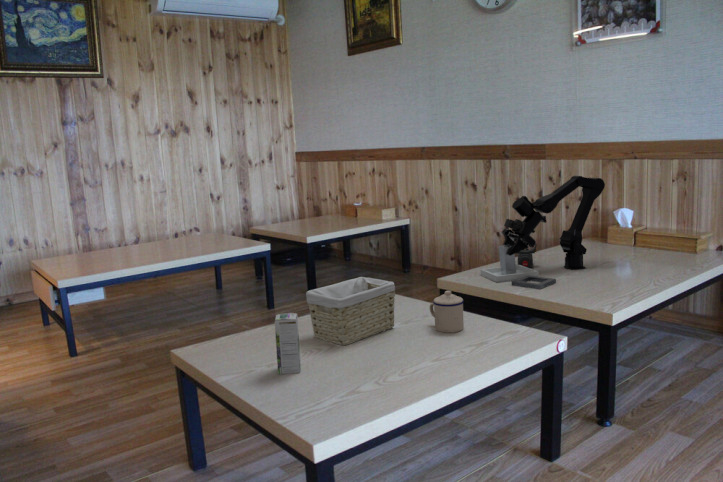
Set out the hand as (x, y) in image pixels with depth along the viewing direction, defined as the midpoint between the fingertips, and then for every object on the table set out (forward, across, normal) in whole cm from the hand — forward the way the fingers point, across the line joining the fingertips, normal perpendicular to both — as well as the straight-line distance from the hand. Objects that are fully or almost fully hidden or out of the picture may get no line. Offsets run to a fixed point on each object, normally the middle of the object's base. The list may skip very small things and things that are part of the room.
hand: (505, 253), depth 244 cm
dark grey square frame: (+4, +16, +9) cm, 19 cm away
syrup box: (+76, +68, -62) cm, 119 cm away
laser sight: (-6, -16, +20) cm, 26 cm away
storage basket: (+60, +44, -46) cm, 88 cm away
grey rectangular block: (+5, 0, +7) cm, 9 cm away
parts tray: (+6, 0, +8) cm, 10 cm away
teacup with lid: (+41, +52, -27) cm, 71 cm away
